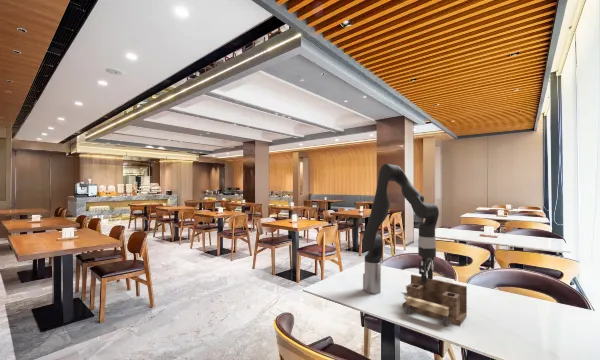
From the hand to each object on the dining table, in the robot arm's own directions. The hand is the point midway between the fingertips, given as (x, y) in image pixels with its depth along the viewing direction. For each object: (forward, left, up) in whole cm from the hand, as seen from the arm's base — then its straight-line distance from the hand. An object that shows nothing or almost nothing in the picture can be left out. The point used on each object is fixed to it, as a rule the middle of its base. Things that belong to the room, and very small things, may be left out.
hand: (427, 281), depth 131 cm
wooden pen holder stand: (0, +10, -17) cm, 20 cm away
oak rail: (0, 0, -17) cm, 17 cm away
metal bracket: (-13, +25, -18) cm, 33 cm away
